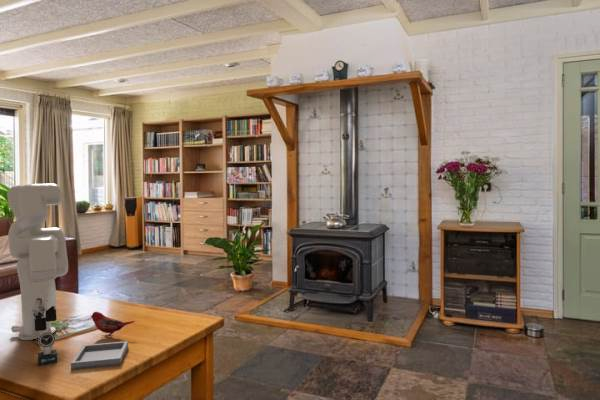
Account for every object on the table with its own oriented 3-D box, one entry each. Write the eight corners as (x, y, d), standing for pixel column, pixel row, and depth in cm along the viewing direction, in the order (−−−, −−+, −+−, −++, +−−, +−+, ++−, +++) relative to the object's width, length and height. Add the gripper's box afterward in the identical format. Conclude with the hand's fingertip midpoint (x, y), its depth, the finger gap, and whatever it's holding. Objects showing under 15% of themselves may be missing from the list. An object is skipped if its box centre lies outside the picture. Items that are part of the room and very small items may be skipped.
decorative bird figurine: (92, 335, 170) (91, 310, 170) (137, 335, 170) (136, 310, 169) (88, 338, 167) (87, 312, 167) (134, 338, 167) (133, 312, 166)
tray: (71, 370, 140) (70, 363, 140) (83, 351, 155) (83, 345, 155) (120, 365, 143) (120, 358, 143) (128, 347, 158) (128, 341, 158)
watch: (38, 368, 142) (36, 336, 141) (37, 360, 148) (36, 328, 148) (58, 364, 145) (56, 332, 144) (56, 356, 151) (55, 325, 151)
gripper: (40, 270, 152) (43, 318, 153) (20, 281, 135) (23, 335, 136) (63, 269, 154) (66, 316, 154) (46, 279, 137) (49, 333, 137)
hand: (46, 325), depth 145 cm, fingers open, 9 cm apart
